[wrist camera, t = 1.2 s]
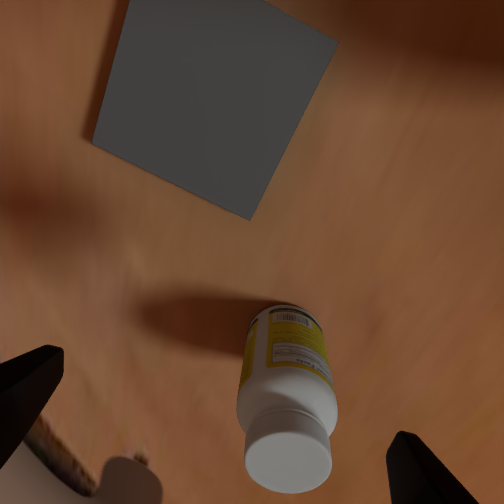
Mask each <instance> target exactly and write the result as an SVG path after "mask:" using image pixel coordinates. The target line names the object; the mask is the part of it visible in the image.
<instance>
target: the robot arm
mask: <svg viewBox="0 0 504 504" xmlns="http://www.w3.org/2000/svg"><path fill="white" fill-rule="evenodd" d="M63 372H64V351H63V349H62V348H61V347H57V346H53V345H44V346H41V347H39V348H37V349H34V350H32V351H29V352H27V353H25V354H22V355H20V356H18V357H15V358H13V359H10V360H8V361H6V362H3V363H1V364H0V469H1V468H2V467H3V465H4V464H5V463H6V461H7V460H8V459H9V458H10V456H11V455H12V454H13V452H14V451H15V450H16V448H17V447H18V446H19V444H20V443H21V442H22V440H23V439H24V438H25V436H26V435H27V433H28V432H29V430H30V429H31V427H32V425H33V424H34V422H35V421H36V419H37V418H38V416H39V414H40V413H41V411H42V410H43V408H44V406H45V405H46V403H47V402H48V400H49V398H50V397H51V395H52V394H53V392H54V391H55V389H56V387H57V386H58V384H59V383H60V381H61V379H62V376H63ZM386 465H387V472H388V480H389V487H390V495H391V502H392V504H479V503H478V502H477V501H476V500H475V498H474V497H473V496H472V495H471V494H470V493H469V492H468V491H467V490H466V489H465V487H464V486H463V485H462V484H461V483H460V482H459V481H458V480H457V479H456V478H455V476H454V475H453V474H452V473H451V472H450V471H449V470H448V469H447V468H446V467H445V465H444V464H443V463H442V462H441V461H440V460H439V459H438V458H437V457H436V456H435V454H434V453H433V452H432V451H431V450H430V449H429V448H428V447H427V446H426V445H425V443H424V442H423V441H422V440H421V439H420V438H419V437H418V436H417V435H416V434H413V433H409V432H405V431H399V432H398V433H397V434H396V436H395V438H394V439H393V441H392V443H391V445H390V447H389V448H388V450H387V454H386Z"/></svg>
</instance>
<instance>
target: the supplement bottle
mask: <svg viewBox="0 0 504 504" xmlns="http://www.w3.org/2000/svg"><path fill="white" fill-rule="evenodd" d="M337 416H338V410H337V402H336V396H335V391H334V386H333V381H332V377H331V371H330V366H329V361H328V356H327V352H326V347H325V342H324V337H323V333H322V330H321V327H320V325H319V323H318V322H317V320H316V319H315V318H314V317H313V316H312V315H311V314H310V313H309V312H307V311H306V310H304V309H302V308H299V307H296V306H291V305H277V306H273V307H270V308H267V309H265V310H263V311H262V312H260V313H259V314H258V315H257V316H256V317H255V318H254V319H253V321H252V322H251V324H250V326H249V329H248V334H247V339H246V346H245V352H244V358H243V365H242V371H241V377H240V384H239V390H238V397H237V417H238V420H239V423H240V426H241V427H242V429H243V431H244V432H245V433H246V438H245V451H244V464H245V468H246V470H247V472H248V474H249V475H250V477H251V478H252V479H253V480H254V481H255V482H257V483H258V484H260V485H261V486H263V487H265V488H267V489H269V490H272V491H276V492H281V493H301V492H306V491H309V490H312V489H314V488H316V487H318V486H319V485H321V484H322V483H323V482H324V481H325V480H326V479H327V478H328V476H329V474H330V472H331V468H332V458H331V450H330V441H329V436H330V435H331V433H332V432H333V430H334V428H335V425H336V422H337Z"/></svg>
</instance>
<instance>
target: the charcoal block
mask: <svg viewBox="0 0 504 504" xmlns="http://www.w3.org/2000/svg"><path fill="white" fill-rule="evenodd" d="M338 43H339V42H338V41H336V40H334V39H332V38H330V37H329V36H327V35H325V34H323V33H321V32H319V31H318V30H316V29H314V28H312V27H310V26H309V25H307V24H305V23H303V22H301V21H300V20H298V19H296V18H294V17H292V16H291V15H289V14H287V13H285V12H283V11H281V10H280V9H278V8H276V7H274V6H272V5H271V4H269V3H267V2H265V1H263V0H130V2H129V5H128V9H127V13H126V16H125V20H124V24H123V28H122V31H121V35H120V39H119V43H118V46H117V50H116V54H115V57H114V61H113V65H112V69H111V72H110V76H109V80H108V84H107V87H106V91H105V95H104V99H103V102H102V106H101V110H100V113H99V117H98V121H97V125H96V128H95V132H94V136H93V140H92V143H91V144H93V145H95V146H97V147H100V148H102V149H104V150H106V151H108V152H110V153H112V154H114V155H116V156H118V157H120V158H122V159H124V160H126V161H128V162H130V163H132V164H134V165H136V166H138V167H140V168H142V169H144V170H147V171H149V172H151V173H153V174H155V175H157V176H159V177H161V178H163V179H165V180H167V181H169V182H171V183H173V184H175V185H177V186H179V187H181V188H183V189H185V190H187V191H189V192H192V193H194V194H196V195H198V196H200V197H202V198H204V199H206V200H208V201H210V202H212V203H214V204H216V205H218V206H220V207H222V208H224V209H226V210H228V211H230V212H232V213H234V214H236V215H239V216H241V217H243V218H245V219H247V220H249V221H250V220H251V218H252V216H253V214H254V212H255V210H256V208H257V206H258V204H259V202H260V200H261V198H262V196H263V194H264V192H265V190H266V188H267V186H268V184H269V182H270V180H271V178H272V176H273V174H274V172H275V170H276V168H277V166H278V164H279V162H280V160H281V158H282V156H283V154H284V152H285V150H286V148H287V146H288V144H289V142H290V140H291V138H292V136H293V134H294V132H295V130H296V128H297V126H298V124H299V122H300V120H301V118H302V116H303V114H304V112H305V110H306V108H307V106H308V104H309V102H310V100H311V98H312V96H313V94H314V92H315V90H316V88H317V86H318V84H319V82H320V80H321V78H322V76H323V74H324V72H325V70H326V68H327V66H328V64H329V62H330V60H331V58H332V56H333V54H334V52H335V50H336V47H337V45H338Z"/></svg>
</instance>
